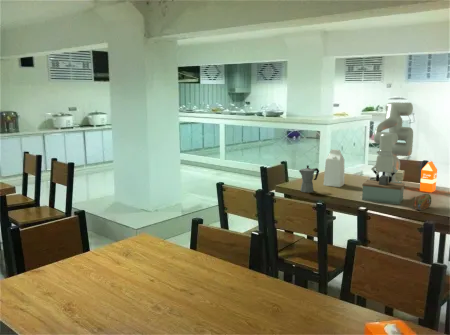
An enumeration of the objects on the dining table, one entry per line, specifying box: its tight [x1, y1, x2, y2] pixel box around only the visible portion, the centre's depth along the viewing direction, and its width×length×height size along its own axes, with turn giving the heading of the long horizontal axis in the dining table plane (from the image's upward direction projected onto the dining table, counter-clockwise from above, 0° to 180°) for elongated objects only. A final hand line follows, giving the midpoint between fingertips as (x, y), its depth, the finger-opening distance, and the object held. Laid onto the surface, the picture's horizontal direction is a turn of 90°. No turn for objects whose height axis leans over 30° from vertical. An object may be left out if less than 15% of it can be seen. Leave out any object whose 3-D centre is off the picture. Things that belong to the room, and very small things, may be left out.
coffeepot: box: [298, 165, 320, 194], centre depth 287 cm, size 15×9×18 cm, turn 107°
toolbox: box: [361, 181, 405, 205], centre depth 266 cm, size 18×22×10 cm
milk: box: [323, 148, 345, 188], centre depth 304 cm, size 12×12×26 cm
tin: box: [413, 193, 432, 211], centre depth 244 cm, size 15×3×8 cm, turn 126°
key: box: [395, 169, 405, 182], centre depth 273 cm, size 8×4×6 cm, turn 149°
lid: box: [361, 174, 405, 190], centre depth 263 cm, size 14×23×6 cm, turn 59°
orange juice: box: [419, 161, 438, 193], centre depth 286 cm, size 8×9×20 cm
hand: (383, 181), depth 263 cm, fingers open, 6 cm apart
